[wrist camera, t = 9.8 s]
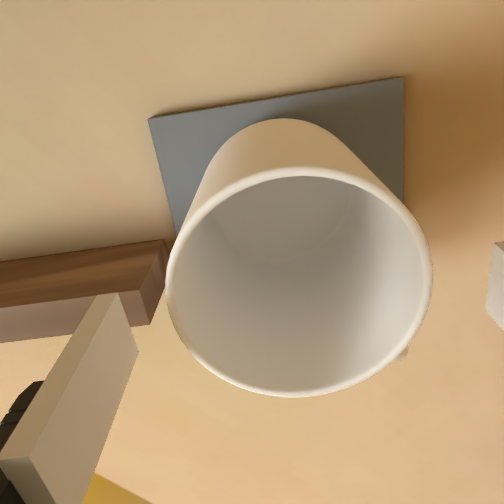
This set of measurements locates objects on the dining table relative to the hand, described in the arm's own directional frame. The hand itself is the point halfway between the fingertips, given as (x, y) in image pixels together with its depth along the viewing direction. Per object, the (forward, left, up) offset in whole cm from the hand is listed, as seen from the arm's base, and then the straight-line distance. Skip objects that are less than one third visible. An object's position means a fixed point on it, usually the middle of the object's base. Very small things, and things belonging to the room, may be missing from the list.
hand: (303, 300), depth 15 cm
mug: (0, +1, -10) cm, 10 cm away
